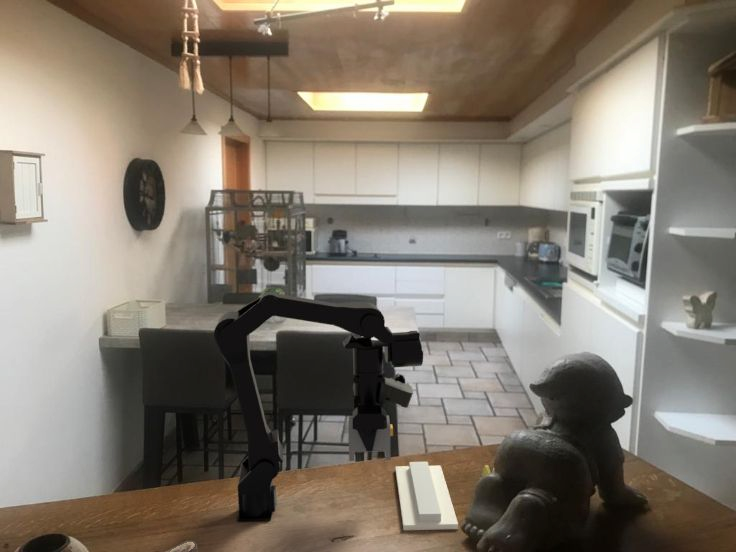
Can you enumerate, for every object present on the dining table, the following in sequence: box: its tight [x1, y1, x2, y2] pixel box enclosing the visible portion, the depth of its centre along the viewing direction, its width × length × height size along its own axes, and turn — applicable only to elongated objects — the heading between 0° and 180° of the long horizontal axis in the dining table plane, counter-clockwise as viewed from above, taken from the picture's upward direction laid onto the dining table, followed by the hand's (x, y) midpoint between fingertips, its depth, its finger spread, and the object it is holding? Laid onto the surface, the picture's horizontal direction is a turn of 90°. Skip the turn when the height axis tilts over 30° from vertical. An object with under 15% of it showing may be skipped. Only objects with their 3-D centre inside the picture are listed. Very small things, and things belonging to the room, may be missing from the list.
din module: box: [347, 414, 394, 462], centre depth 111 cm, size 9×5×7 cm, turn 91°
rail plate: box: [395, 461, 459, 531], centre depth 114 cm, size 10×22×2 cm, turn 1°
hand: (369, 444), depth 111 cm, fingers closed on din module, 5 cm apart
